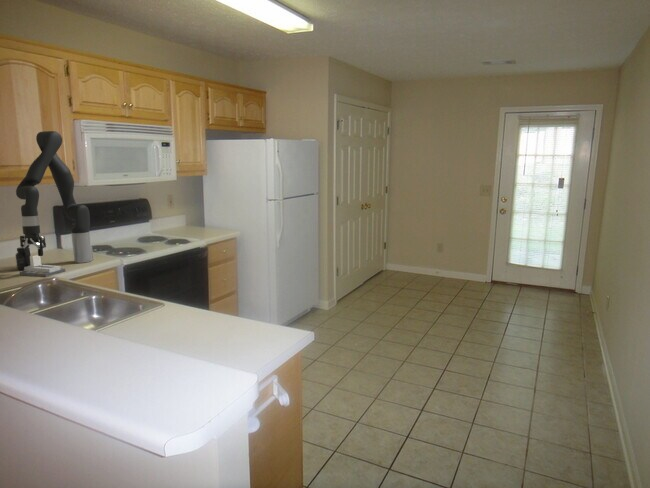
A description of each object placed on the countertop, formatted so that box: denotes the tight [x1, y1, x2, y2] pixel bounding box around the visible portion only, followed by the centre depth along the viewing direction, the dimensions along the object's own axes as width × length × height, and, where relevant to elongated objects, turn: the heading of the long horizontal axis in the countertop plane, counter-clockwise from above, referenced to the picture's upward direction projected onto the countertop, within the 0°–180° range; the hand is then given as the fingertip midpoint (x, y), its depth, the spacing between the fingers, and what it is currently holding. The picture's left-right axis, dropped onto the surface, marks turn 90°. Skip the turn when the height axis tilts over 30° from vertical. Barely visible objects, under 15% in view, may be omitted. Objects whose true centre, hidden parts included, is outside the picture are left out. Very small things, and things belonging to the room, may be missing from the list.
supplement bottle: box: [15, 246, 32, 271], centre depth 243 cm, size 7×7×12 cm
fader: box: [30, 254, 42, 267], centre depth 234 cm, size 4×4×8 cm
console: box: [19, 264, 66, 278], centre depth 234 cm, size 12×17×4 cm
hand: (34, 255), depth 233 cm, fingers open, 8 cm apart
